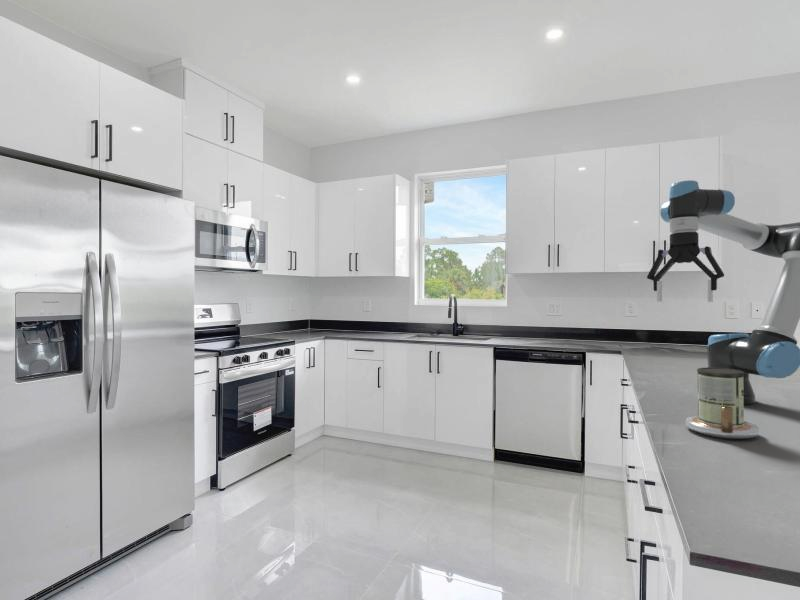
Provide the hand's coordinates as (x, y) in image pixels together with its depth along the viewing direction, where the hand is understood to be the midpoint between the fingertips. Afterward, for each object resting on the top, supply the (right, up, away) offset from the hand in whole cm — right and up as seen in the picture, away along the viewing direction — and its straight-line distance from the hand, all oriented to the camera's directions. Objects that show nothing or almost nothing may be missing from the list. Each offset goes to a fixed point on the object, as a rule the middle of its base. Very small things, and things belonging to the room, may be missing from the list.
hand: (684, 301), depth 142 cm
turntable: (-2, -34, -19) cm, 39 cm away
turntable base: (-2, -35, -19) cm, 40 cm away
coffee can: (-2, -33, -19) cm, 38 cm away
